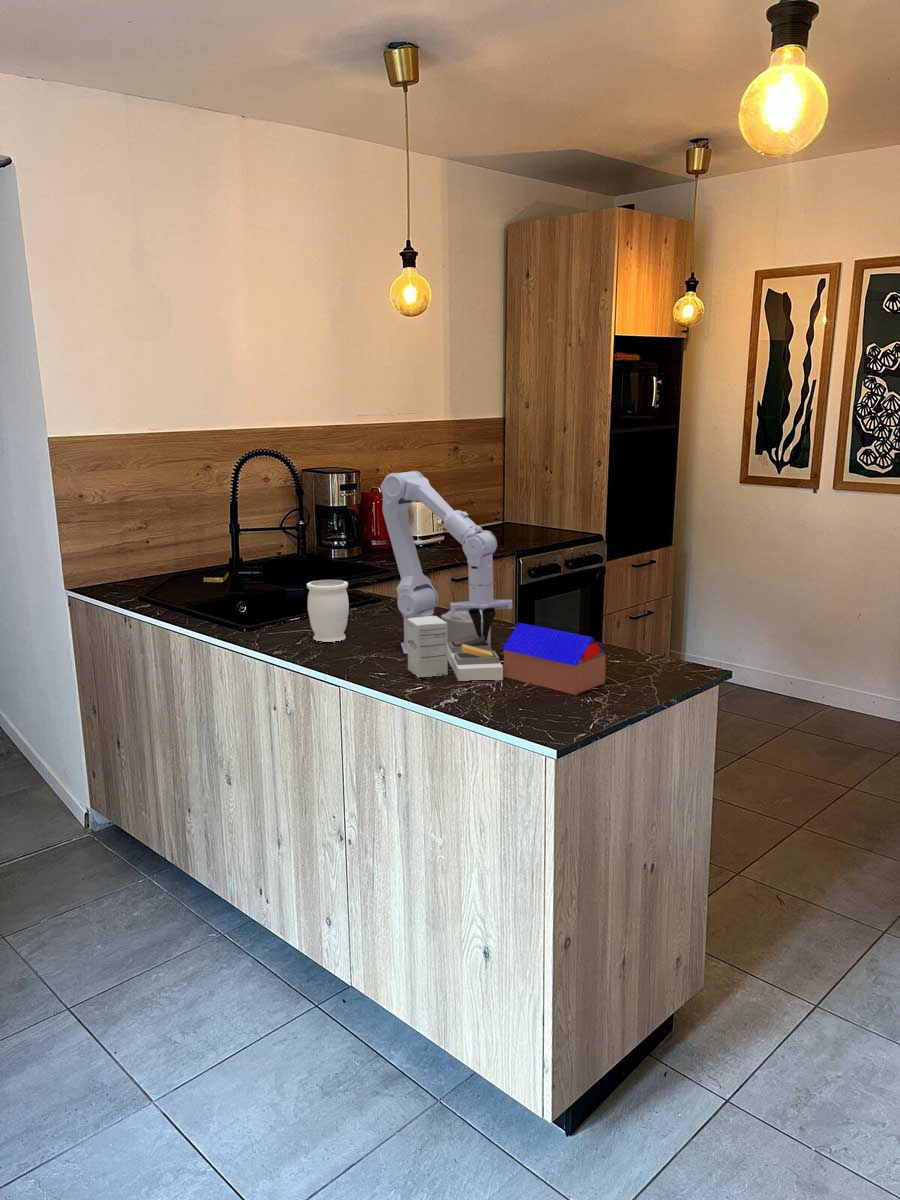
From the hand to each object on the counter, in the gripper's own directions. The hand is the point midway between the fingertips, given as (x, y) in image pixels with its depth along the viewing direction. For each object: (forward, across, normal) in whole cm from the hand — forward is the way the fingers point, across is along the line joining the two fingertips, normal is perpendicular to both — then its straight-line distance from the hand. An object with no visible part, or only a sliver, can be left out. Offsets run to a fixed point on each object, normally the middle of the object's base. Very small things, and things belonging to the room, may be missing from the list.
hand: (482, 639), depth 218 cm
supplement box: (+5, -14, -8) cm, 17 cm away
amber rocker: (0, -3, -10) cm, 10 cm away
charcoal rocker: (0, -3, 0) cm, 3 cm away
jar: (+4, -36, +26) cm, 45 cm away
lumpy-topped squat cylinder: (+5, -1, +16) cm, 17 cm away
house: (+6, +13, -17) cm, 23 cm away
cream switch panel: (+5, -3, -5) cm, 8 cm away
